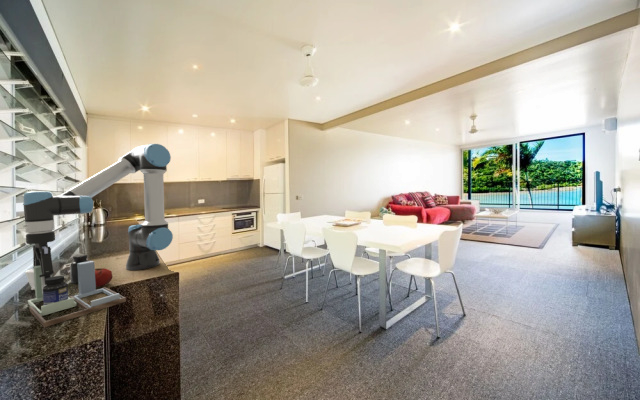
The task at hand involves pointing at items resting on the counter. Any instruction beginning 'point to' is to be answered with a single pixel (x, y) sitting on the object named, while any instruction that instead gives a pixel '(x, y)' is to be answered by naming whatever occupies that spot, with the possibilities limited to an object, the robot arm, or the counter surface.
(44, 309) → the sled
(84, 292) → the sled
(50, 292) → the pill bottle
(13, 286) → the counter surface
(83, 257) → the supplement bottle
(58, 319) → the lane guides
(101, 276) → the tomato
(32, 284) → the cup
